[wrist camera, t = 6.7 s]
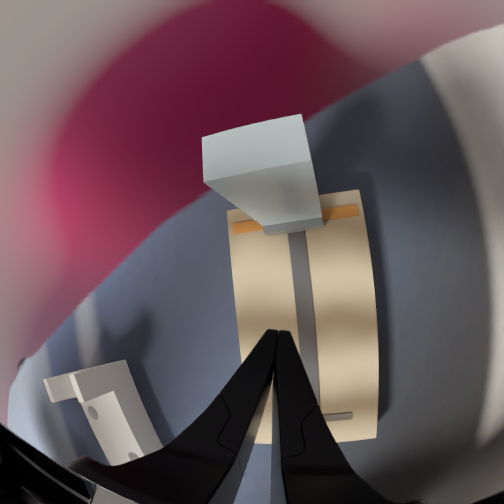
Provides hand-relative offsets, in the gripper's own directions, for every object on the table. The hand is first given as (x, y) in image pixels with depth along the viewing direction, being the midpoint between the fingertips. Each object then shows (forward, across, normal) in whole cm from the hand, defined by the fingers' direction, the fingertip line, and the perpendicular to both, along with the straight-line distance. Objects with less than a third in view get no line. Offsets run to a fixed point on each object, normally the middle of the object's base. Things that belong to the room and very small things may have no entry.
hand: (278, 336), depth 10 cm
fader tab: (+11, 0, 0) cm, 11 cm away
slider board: (+8, -2, +8) cm, 11 cm away
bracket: (+2, +16, +21) cm, 26 cm away
